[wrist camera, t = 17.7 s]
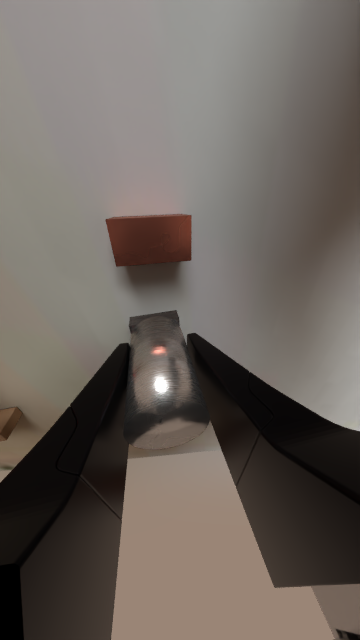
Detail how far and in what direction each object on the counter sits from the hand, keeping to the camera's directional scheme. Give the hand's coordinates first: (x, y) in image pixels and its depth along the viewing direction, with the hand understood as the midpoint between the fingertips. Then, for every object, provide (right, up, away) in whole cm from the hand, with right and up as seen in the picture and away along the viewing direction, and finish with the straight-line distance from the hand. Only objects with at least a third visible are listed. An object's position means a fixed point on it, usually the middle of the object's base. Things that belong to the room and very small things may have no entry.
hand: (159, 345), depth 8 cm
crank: (0, -3, +4) cm, 5 cm away
